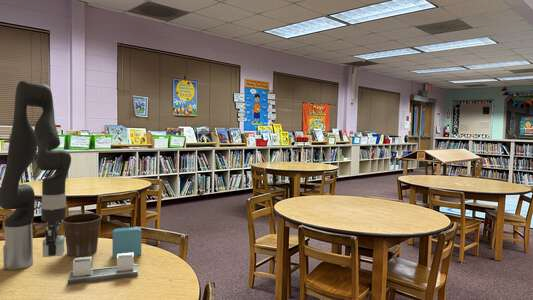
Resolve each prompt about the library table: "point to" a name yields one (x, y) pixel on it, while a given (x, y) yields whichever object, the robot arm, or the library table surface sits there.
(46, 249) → the block
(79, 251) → the plant pot
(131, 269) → the rail
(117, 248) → the data package
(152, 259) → the library table surface
